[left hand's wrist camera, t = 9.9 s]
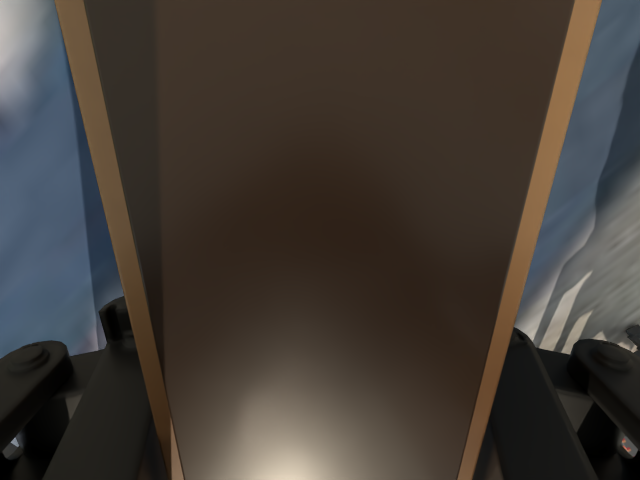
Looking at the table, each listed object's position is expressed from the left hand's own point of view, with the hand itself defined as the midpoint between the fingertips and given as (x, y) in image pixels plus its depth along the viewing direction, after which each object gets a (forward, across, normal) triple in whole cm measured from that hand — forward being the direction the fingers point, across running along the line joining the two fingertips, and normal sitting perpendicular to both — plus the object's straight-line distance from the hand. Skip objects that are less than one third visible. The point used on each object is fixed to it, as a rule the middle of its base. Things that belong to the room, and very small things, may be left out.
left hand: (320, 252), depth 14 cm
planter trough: (0, 0, -10) cm, 10 cm away
